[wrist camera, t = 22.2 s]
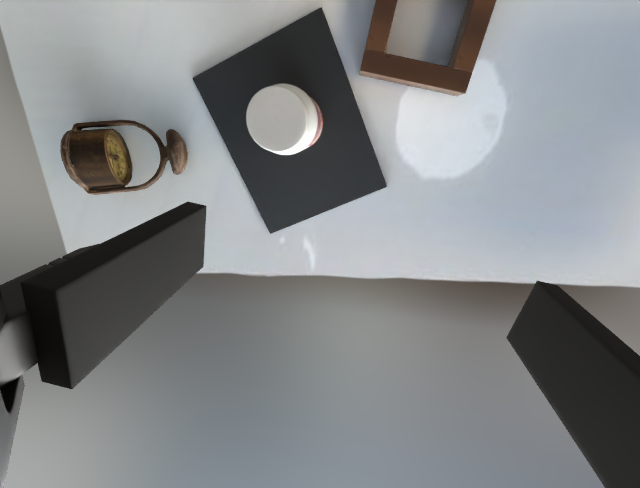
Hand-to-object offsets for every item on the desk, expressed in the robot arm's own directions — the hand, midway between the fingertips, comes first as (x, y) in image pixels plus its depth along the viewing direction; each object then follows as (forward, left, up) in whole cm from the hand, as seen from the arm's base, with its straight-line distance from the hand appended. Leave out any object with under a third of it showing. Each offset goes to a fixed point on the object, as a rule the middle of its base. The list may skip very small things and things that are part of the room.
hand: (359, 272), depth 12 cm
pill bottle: (+8, +3, -27) cm, 29 cm away
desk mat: (+7, +4, -27) cm, 29 cm away
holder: (+11, -13, -27) cm, 32 cm away
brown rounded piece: (+12, +23, -28) cm, 38 cm away
